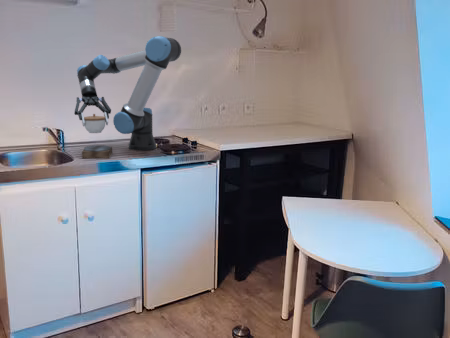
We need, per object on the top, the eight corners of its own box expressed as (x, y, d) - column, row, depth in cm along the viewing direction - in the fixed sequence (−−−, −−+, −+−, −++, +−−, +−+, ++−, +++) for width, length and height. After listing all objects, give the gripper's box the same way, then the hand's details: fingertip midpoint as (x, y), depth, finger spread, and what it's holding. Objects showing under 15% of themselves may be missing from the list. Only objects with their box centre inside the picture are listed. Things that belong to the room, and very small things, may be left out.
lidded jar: (102, 134, 206) (101, 115, 204) (80, 133, 207) (79, 115, 204) (108, 131, 217) (107, 113, 214) (88, 130, 217) (87, 112, 215)
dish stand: (112, 153, 221) (112, 145, 219) (109, 158, 208) (108, 149, 207) (87, 153, 219) (86, 145, 218) (82, 158, 206) (81, 150, 205)
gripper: (110, 95, 226) (118, 127, 216) (64, 96, 216) (71, 129, 206) (111, 85, 220) (119, 118, 210) (65, 86, 210) (71, 120, 200)
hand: (95, 124), depth 208 cm, fingers closed on lidded jar, 11 cm apart
